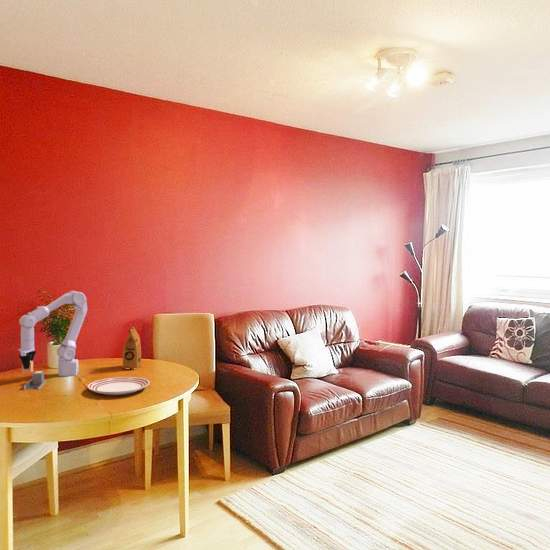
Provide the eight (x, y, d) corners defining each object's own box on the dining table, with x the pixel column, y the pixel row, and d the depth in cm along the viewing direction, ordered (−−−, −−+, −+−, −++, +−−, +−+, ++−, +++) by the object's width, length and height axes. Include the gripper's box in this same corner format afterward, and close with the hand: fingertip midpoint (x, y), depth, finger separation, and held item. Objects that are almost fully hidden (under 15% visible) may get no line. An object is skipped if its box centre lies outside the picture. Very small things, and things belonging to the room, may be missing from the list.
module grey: (43, 381, 227) (43, 370, 226) (41, 384, 223) (41, 373, 222) (34, 382, 226) (34, 371, 226) (32, 384, 222) (32, 373, 222)
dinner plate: (88, 384, 228) (88, 377, 228) (146, 380, 238) (146, 373, 238) (87, 401, 203) (87, 394, 203) (152, 396, 213) (152, 388, 213)
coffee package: (119, 370, 257) (119, 330, 256) (125, 364, 269) (126, 326, 268) (137, 370, 257) (138, 330, 256) (143, 364, 269) (143, 326, 268)
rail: (46, 384, 226) (46, 377, 226) (39, 391, 215) (39, 384, 215) (31, 384, 225) (31, 378, 225) (24, 392, 213) (24, 385, 213)
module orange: (33, 370, 231) (33, 360, 231) (30, 372, 227) (30, 361, 227) (24, 371, 230) (24, 360, 230) (21, 373, 226) (21, 362, 226)
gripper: (23, 337, 234) (23, 364, 235) (13, 343, 220) (13, 371, 221) (38, 337, 236) (38, 363, 236) (29, 342, 221) (30, 371, 222)
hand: (27, 367), depth 229 cm, fingers closed on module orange, 4 cm apart
